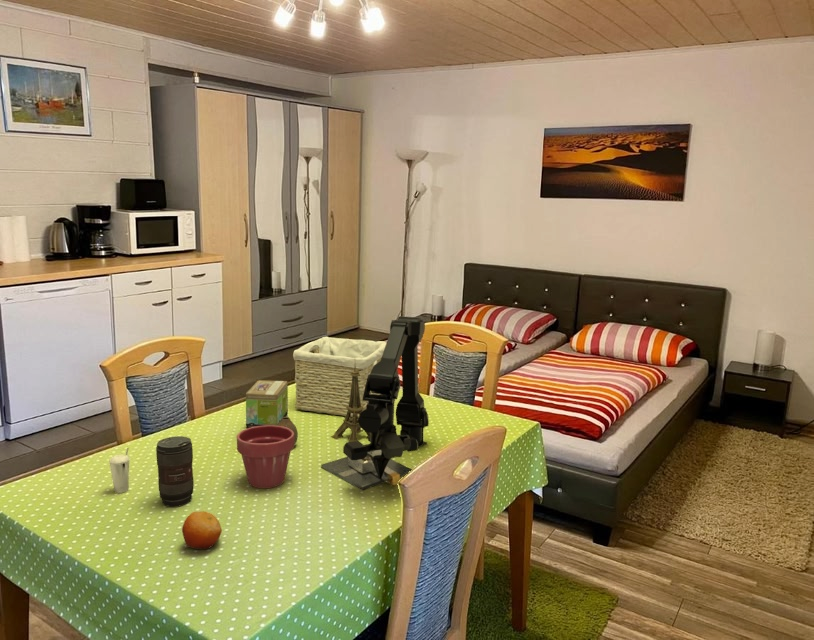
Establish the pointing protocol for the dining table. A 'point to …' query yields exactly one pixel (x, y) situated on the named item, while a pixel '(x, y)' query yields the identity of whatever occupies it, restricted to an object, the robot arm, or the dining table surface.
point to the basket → (333, 372)
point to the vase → (289, 426)
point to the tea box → (266, 403)
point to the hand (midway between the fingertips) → (379, 478)
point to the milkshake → (120, 472)
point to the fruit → (201, 530)
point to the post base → (359, 479)
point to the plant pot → (265, 454)
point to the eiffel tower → (352, 408)
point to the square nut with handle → (374, 470)
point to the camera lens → (175, 470)
